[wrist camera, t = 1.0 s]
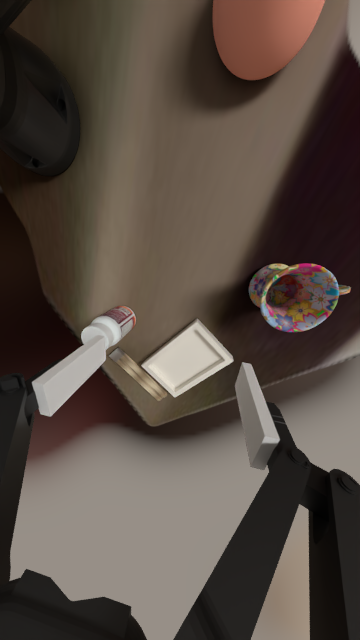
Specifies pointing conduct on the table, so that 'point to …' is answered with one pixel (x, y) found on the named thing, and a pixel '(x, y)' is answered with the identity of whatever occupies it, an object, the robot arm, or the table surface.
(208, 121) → the table surface
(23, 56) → the robot arm
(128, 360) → the tongs
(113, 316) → the pill bottle
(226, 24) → the pink teapot
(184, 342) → the tray
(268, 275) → the mug
